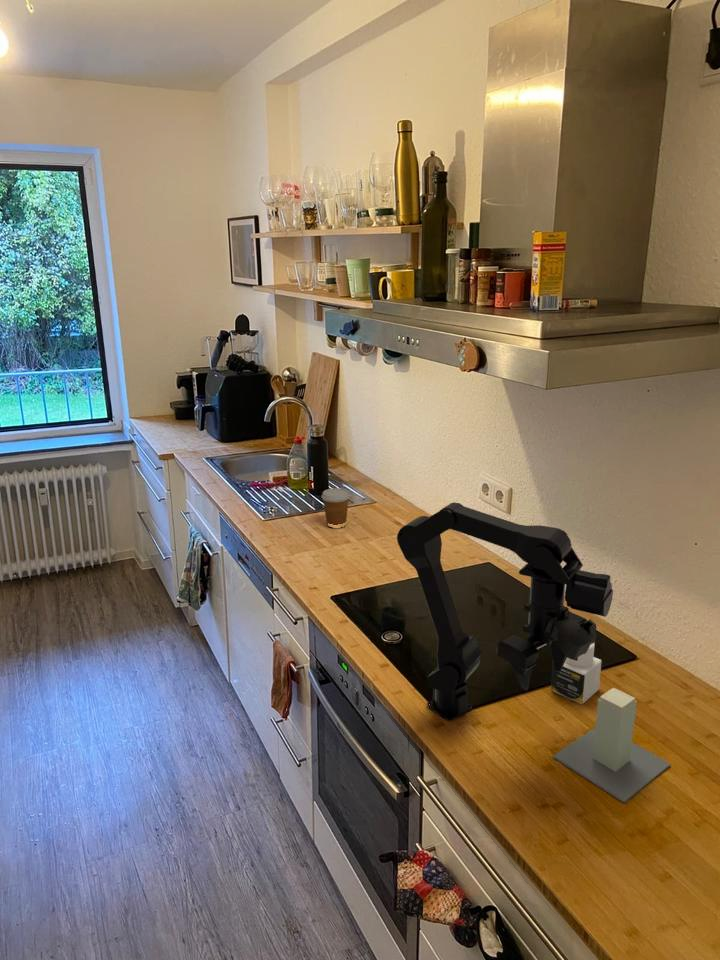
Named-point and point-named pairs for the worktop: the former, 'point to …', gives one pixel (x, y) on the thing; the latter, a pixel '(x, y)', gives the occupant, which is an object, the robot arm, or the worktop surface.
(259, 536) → the worktop surface
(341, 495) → the disposable coffee cup
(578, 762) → the plate
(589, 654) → the medicine bottle
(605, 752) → the tea tin
